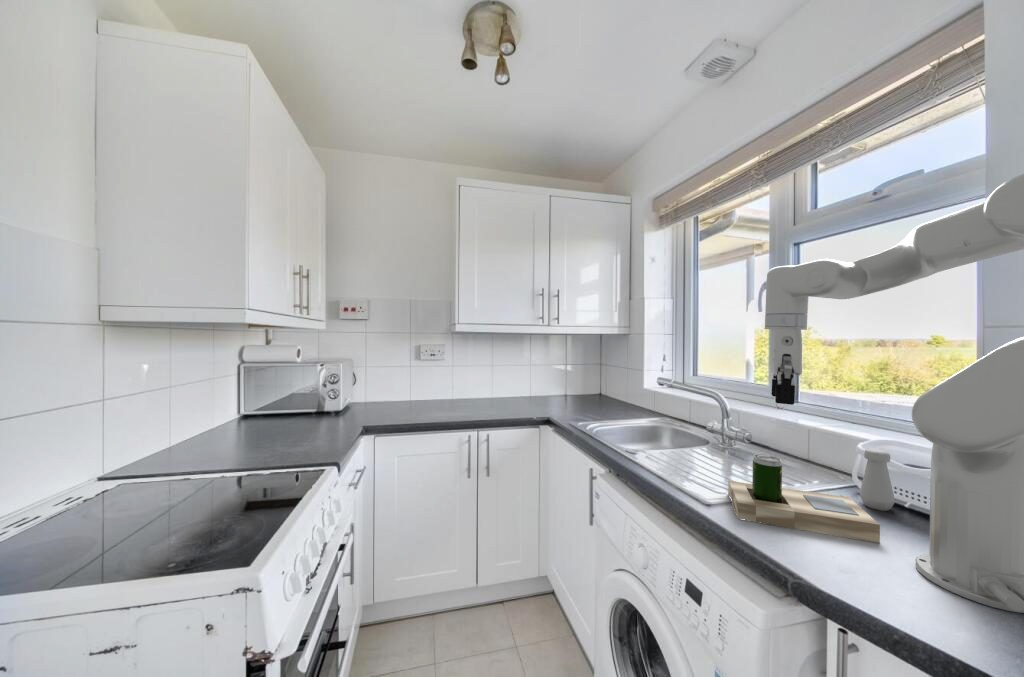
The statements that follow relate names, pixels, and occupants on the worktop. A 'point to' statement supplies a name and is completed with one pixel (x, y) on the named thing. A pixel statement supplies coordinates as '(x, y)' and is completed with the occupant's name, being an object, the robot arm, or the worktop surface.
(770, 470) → the beer can
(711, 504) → the worktop surface
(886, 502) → the salt shaker
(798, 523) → the can block
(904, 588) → the worktop surface
